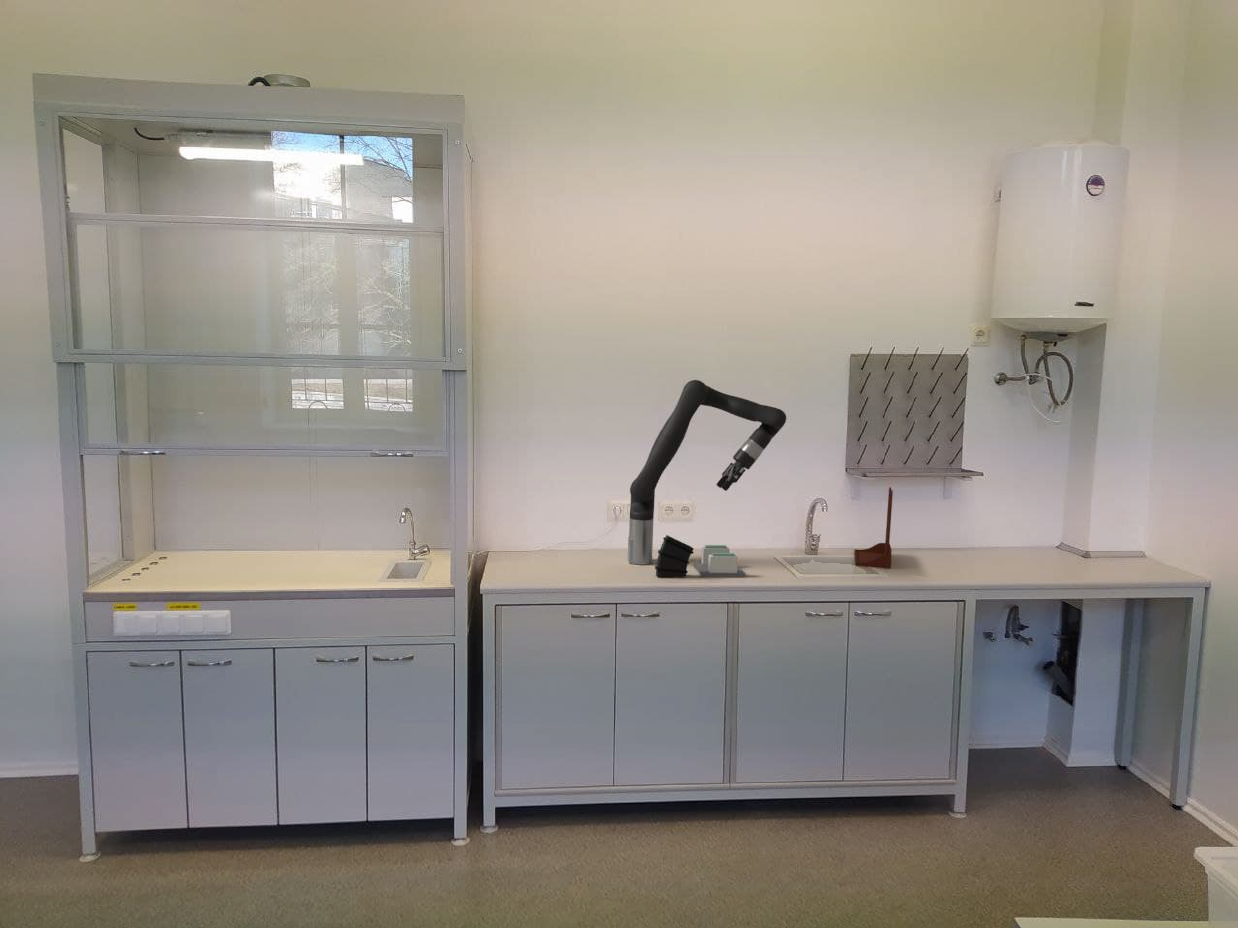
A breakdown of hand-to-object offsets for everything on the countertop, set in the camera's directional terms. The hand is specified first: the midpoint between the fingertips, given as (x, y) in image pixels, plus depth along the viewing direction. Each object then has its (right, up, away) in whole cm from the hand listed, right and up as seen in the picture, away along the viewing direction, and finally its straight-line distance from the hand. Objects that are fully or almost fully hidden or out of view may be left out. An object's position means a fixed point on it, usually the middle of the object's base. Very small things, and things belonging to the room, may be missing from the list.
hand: (720, 488), depth 285 cm
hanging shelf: (+65, -31, +27) cm, 77 cm away
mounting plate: (-1, -31, +3) cm, 31 cm away
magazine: (-18, -32, -6) cm, 37 cm away
